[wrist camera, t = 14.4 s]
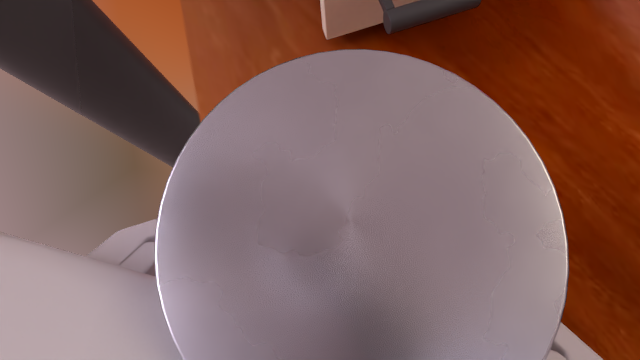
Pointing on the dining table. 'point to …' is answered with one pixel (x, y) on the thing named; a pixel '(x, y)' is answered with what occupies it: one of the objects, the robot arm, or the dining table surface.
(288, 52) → the dining table surface
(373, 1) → the drawer
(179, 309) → the can
